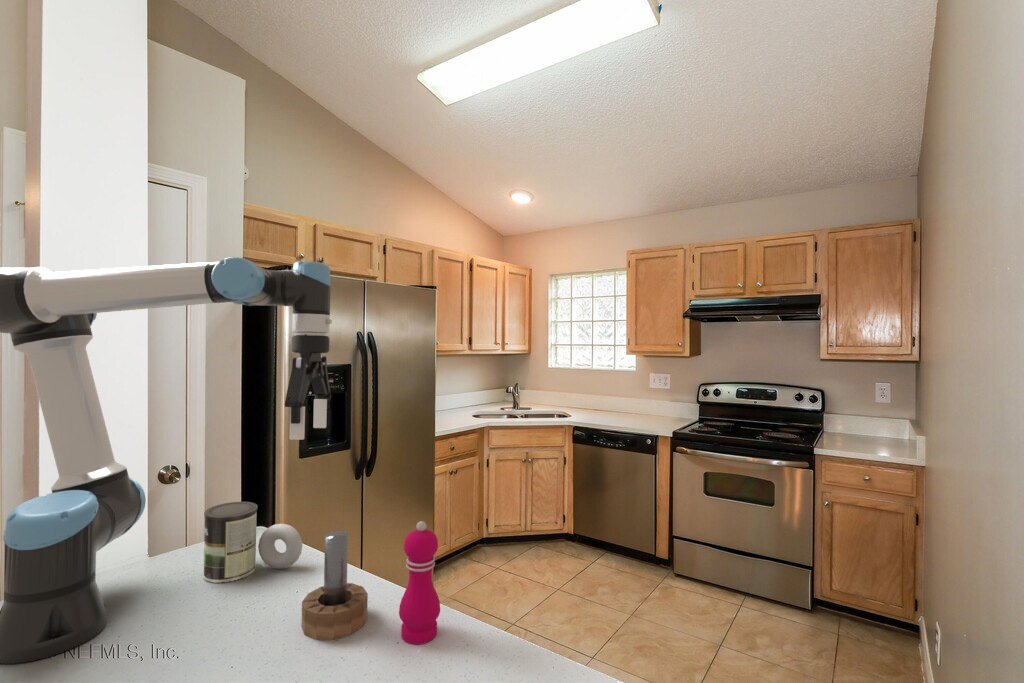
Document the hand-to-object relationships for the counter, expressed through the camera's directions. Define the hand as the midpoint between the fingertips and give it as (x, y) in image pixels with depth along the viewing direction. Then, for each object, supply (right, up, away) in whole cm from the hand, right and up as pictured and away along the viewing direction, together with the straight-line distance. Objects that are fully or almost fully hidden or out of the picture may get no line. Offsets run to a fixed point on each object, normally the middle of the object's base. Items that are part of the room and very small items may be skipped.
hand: (309, 433), depth 108 cm
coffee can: (-19, -32, +3) cm, 37 cm away
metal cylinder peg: (+11, -32, -15) cm, 37 cm away
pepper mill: (+27, -32, -19) cm, 46 cm away
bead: (+11, -32, -16) cm, 37 cm away
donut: (-9, -32, +6) cm, 33 cm away
